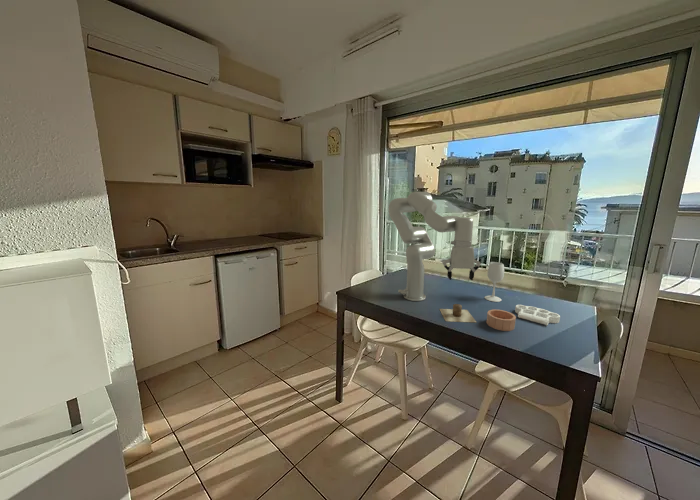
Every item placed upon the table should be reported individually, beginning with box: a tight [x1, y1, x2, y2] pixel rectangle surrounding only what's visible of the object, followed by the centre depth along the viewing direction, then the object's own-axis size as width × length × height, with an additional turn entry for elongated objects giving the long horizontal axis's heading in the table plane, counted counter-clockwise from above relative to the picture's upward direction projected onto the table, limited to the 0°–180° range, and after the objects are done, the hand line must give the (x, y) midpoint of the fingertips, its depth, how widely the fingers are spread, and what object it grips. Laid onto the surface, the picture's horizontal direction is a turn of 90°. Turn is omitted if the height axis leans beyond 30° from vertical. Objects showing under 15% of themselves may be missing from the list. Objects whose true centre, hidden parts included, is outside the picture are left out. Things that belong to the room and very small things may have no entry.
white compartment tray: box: [514, 304, 561, 326], centre depth 128 cm, size 3×18×15 cm
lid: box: [439, 303, 477, 324], centre depth 130 cm, size 14×14×6 cm
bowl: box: [486, 308, 517, 332], centre depth 121 cm, size 11×11×5 cm
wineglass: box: [484, 261, 505, 303], centre depth 149 cm, size 9×9×21 cm
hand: (460, 279), depth 127 cm, fingers open, 9 cm apart
